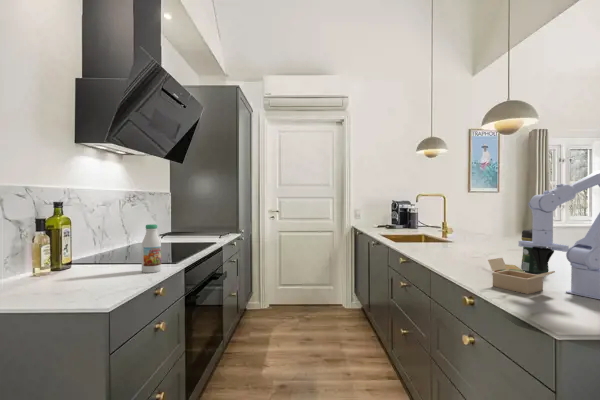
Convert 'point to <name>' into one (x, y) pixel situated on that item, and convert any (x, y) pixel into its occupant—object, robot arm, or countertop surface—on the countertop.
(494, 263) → the far flap
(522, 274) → the brown carton
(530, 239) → the coffee jar
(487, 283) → the countertop surface
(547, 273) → the flap
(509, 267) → the carton
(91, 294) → the countertop surface
